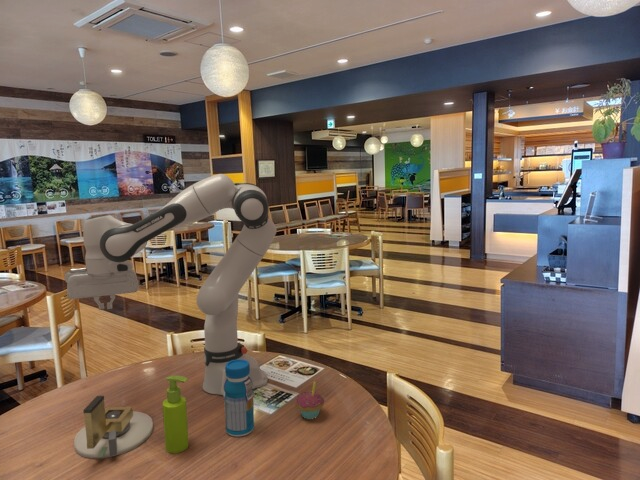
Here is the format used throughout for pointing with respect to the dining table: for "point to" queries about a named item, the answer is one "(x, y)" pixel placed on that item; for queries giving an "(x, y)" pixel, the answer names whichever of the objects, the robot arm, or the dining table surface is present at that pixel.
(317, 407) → the cupcake
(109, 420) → the tan piece
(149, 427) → the plate
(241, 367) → the beverage bottle
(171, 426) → the soap dispenser
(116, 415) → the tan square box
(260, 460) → the dining table surface
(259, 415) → the dining table surface
